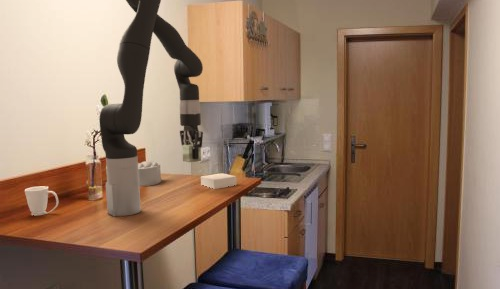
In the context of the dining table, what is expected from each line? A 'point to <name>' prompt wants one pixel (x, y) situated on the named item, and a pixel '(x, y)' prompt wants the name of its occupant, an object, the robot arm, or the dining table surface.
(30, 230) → the dining table surface
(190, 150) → the sage block
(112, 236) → the dining table surface
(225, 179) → the base block
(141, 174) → the lumpy-topped squat cylinder
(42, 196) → the cup
